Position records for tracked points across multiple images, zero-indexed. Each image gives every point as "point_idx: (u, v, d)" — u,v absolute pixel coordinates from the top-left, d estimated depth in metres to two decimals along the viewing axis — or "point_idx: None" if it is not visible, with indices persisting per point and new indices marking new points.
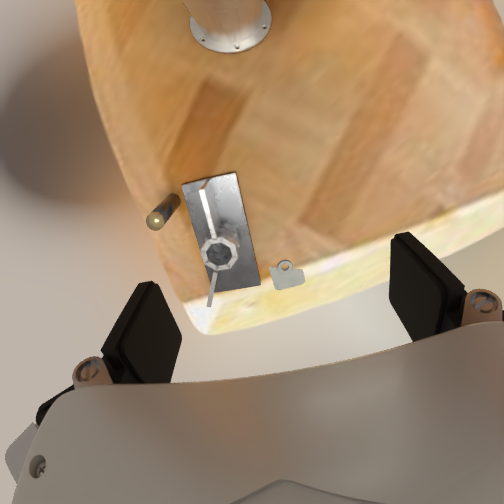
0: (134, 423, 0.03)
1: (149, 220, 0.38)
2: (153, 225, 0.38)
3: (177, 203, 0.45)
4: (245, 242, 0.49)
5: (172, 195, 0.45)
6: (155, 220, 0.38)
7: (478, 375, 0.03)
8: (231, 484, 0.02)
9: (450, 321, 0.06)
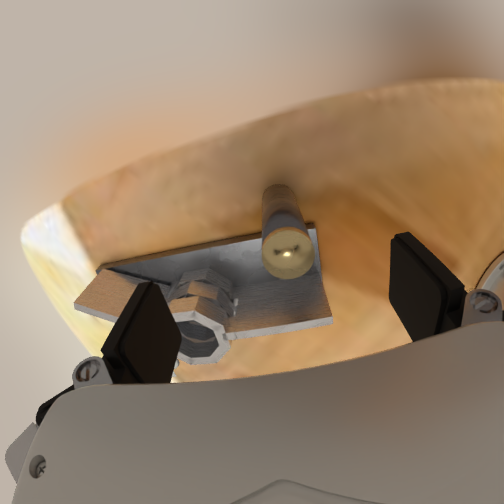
0: (134, 423, 0.03)
1: (294, 241, 0.14)
2: (277, 251, 0.14)
3: None
4: None
5: None
6: (292, 258, 0.14)
7: (478, 375, 0.03)
8: (231, 484, 0.02)
9: (450, 321, 0.06)
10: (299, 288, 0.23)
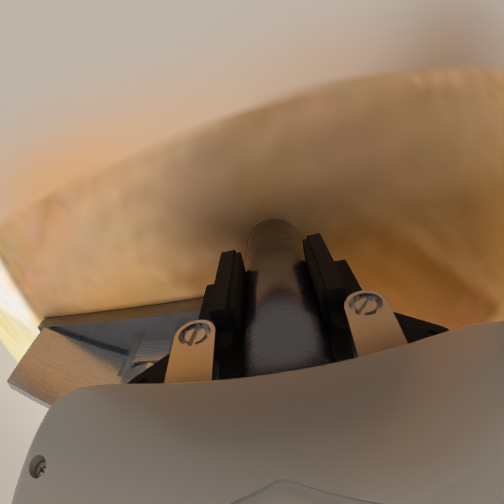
0: (134, 423, 0.03)
1: None
2: None
3: None
4: None
5: None
6: None
7: (478, 375, 0.03)
8: (231, 484, 0.02)
9: (332, 320, 0.08)
10: None
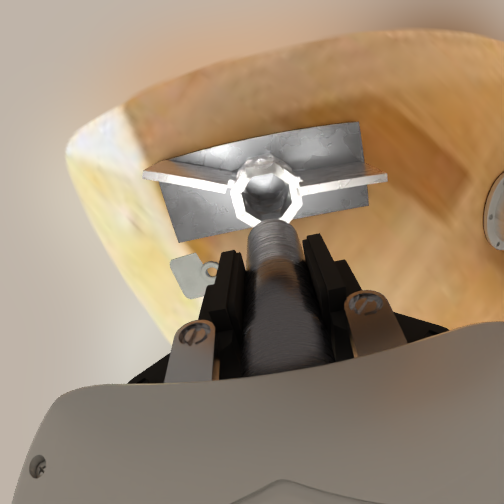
0: (134, 423, 0.03)
1: None
2: None
3: None
4: None
5: None
6: None
7: (478, 375, 0.03)
8: (231, 484, 0.02)
9: (332, 320, 0.08)
10: (350, 167, 0.25)
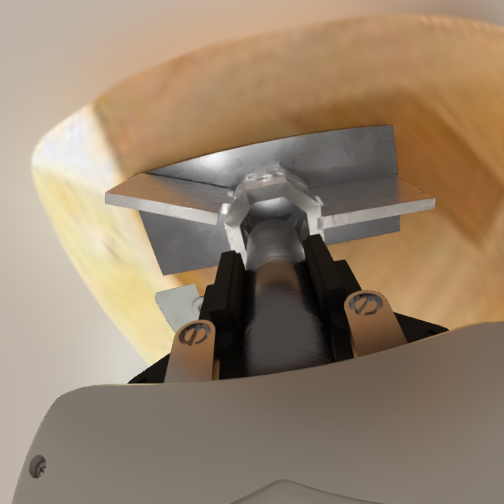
0: (134, 423, 0.03)
1: None
2: None
3: None
4: None
5: None
6: None
7: (478, 375, 0.03)
8: (231, 484, 0.02)
9: (332, 320, 0.08)
10: (383, 184, 0.19)
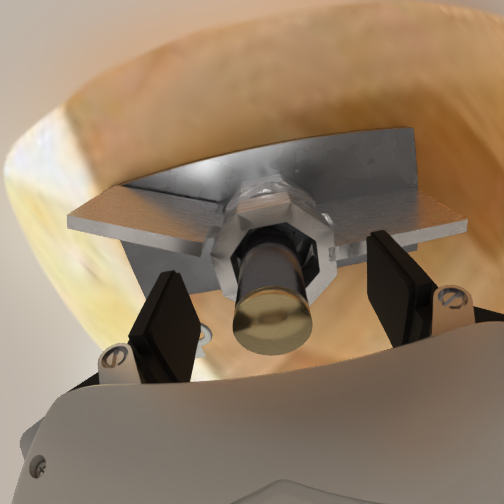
0: (134, 423, 0.03)
1: (281, 310, 0.09)
2: (256, 322, 0.09)
3: None
4: None
5: None
6: (279, 332, 0.09)
7: (478, 375, 0.03)
8: (231, 484, 0.02)
9: (418, 316, 0.07)
10: (403, 199, 0.15)
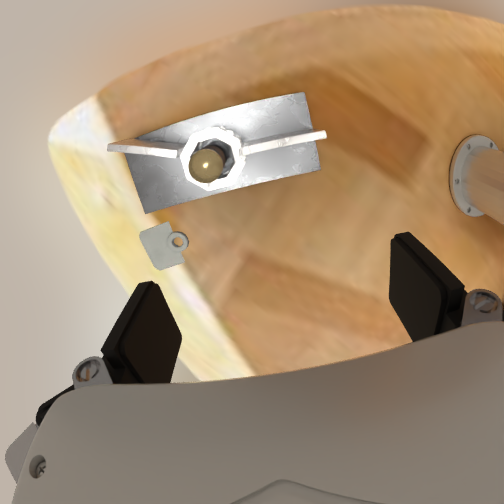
0: (134, 423, 0.03)
1: (207, 156, 0.20)
2: (198, 163, 0.20)
3: None
4: None
5: None
6: (208, 168, 0.21)
7: (478, 375, 0.03)
8: (231, 484, 0.02)
9: (450, 321, 0.06)
10: (296, 132, 0.27)
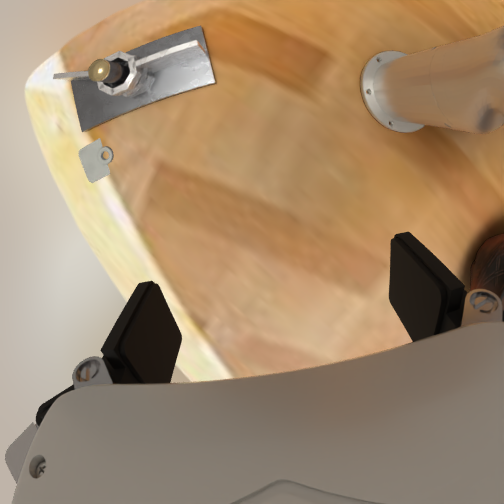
0: (134, 423, 0.03)
1: (99, 63, 0.22)
2: (94, 69, 0.22)
3: None
4: (130, 103, 0.33)
5: None
6: (99, 70, 0.22)
7: (478, 375, 0.03)
8: (231, 484, 0.02)
9: (450, 321, 0.06)
10: None
